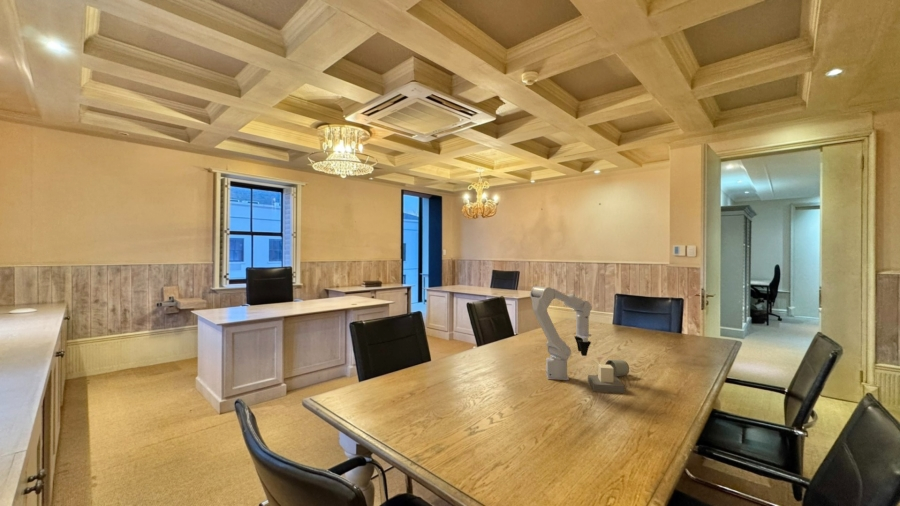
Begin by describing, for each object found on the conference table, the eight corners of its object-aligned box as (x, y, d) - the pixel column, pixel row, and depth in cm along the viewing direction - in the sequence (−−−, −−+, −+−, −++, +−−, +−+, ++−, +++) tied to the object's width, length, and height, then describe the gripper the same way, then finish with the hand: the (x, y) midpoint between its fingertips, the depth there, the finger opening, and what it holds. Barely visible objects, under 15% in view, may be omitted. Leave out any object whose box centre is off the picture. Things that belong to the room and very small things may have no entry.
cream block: (600, 381, 155) (600, 367, 155) (598, 377, 160) (598, 364, 160) (613, 382, 154) (613, 368, 154) (610, 378, 159) (610, 364, 159)
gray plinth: (594, 391, 152) (594, 384, 152) (587, 381, 164) (587, 374, 164) (624, 393, 151) (624, 385, 151) (616, 383, 162) (616, 376, 162)
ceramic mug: (630, 377, 170) (630, 360, 170) (616, 379, 168) (616, 362, 168) (614, 370, 180) (613, 355, 180) (600, 372, 178) (600, 356, 178)
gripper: (594, 328, 168) (594, 358, 168) (587, 322, 183) (587, 349, 183) (578, 327, 169) (578, 357, 169) (573, 322, 184) (572, 349, 184)
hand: (582, 353), depth 176 cm, fingers open, 7 cm apart
